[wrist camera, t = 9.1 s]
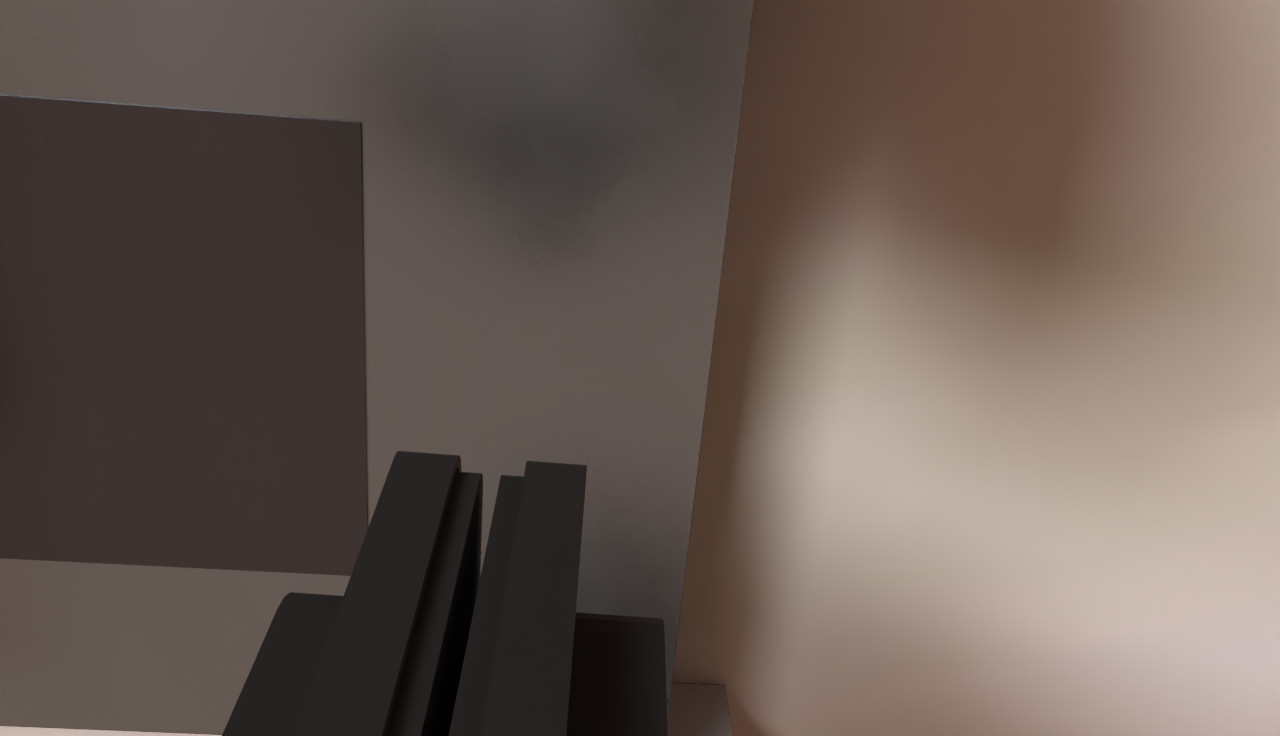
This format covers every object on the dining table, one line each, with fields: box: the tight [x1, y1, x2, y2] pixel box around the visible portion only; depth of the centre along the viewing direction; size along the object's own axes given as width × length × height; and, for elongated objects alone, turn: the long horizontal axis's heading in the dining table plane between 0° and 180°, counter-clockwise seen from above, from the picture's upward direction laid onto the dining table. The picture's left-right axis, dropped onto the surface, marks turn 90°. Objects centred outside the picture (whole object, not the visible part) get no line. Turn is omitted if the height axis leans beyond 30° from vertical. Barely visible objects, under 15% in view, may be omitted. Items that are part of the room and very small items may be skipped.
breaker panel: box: [0, 0, 754, 735], centre depth 18 cm, size 14×18×3 cm
